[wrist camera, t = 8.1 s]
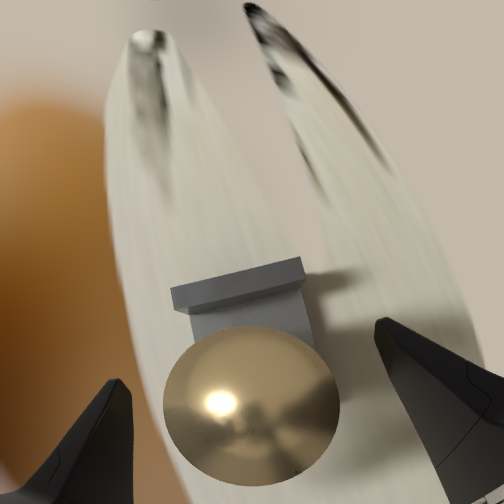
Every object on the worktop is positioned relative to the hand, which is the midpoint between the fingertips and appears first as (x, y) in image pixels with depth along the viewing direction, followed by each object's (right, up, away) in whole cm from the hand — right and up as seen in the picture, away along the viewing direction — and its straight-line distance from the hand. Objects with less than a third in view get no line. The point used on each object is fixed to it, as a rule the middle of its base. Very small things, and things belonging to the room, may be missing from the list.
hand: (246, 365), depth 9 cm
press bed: (+1, -3, +9) cm, 10 cm away
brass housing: (+1, -4, +7) cm, 8 cm away
